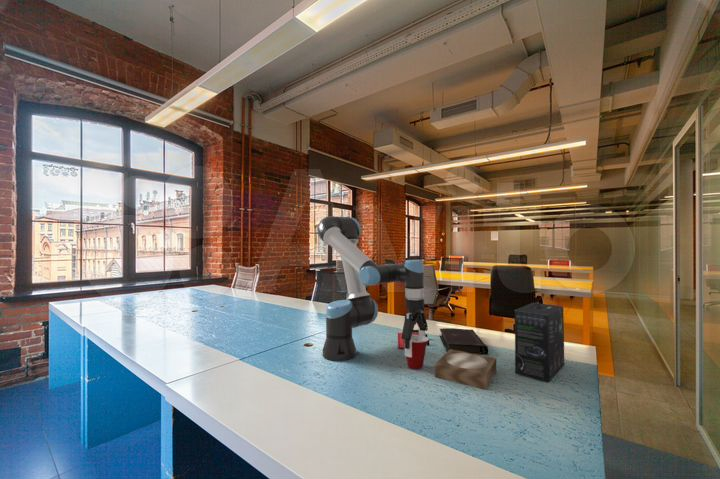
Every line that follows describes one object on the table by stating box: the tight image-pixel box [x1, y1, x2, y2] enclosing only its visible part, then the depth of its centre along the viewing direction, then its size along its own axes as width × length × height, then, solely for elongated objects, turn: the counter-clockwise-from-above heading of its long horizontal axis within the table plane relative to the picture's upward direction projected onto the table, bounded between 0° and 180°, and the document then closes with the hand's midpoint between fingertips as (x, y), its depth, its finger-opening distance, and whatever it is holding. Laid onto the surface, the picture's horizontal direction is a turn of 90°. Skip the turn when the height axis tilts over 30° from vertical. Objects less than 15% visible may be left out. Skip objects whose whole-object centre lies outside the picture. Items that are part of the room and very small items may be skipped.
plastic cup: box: [403, 335, 430, 371], centre depth 124 cm, size 11×11×12 cm
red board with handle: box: [397, 329, 430, 350], centre depth 159 cm, size 30×3×15 cm
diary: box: [439, 327, 489, 356], centre depth 150 cm, size 19×25×5 cm
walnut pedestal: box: [434, 349, 497, 390], centre depth 117 cm, size 18×18×5 cm
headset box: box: [514, 301, 565, 383], centre depth 121 cm, size 22×12×26 cm, turn 134°
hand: (415, 351), depth 124 cm, fingers open, 13 cm apart
